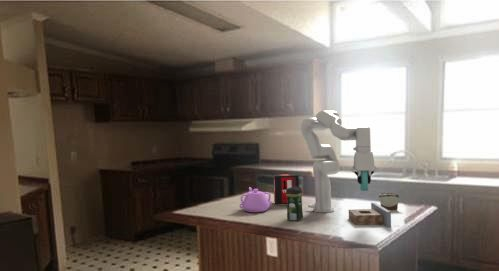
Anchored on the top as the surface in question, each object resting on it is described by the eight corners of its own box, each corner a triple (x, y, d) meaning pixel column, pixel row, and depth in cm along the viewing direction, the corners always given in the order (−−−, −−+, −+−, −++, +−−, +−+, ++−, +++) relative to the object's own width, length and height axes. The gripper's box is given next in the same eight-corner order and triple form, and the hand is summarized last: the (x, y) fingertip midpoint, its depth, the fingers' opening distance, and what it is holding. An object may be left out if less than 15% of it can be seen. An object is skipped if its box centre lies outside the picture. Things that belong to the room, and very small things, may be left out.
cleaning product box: (297, 201, 246) (296, 173, 246) (299, 204, 237) (298, 175, 237) (274, 202, 246) (273, 174, 246) (275, 205, 237) (274, 176, 237)
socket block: (355, 225, 179) (355, 215, 179) (348, 218, 193) (348, 209, 193) (382, 224, 179) (382, 214, 179) (373, 217, 193) (373, 209, 193)
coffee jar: (291, 216, 202) (291, 185, 202) (304, 218, 198) (303, 185, 198) (284, 220, 194) (284, 187, 194) (297, 222, 190) (297, 188, 190)
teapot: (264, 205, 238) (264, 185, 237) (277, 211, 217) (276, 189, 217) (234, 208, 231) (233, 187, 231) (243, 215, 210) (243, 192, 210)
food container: (396, 208, 217) (396, 192, 217) (399, 210, 211) (399, 194, 211) (376, 208, 218) (376, 192, 218) (379, 210, 212) (378, 194, 212)
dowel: (361, 190, 184) (361, 168, 184) (359, 189, 188) (358, 167, 188) (369, 190, 184) (368, 168, 184) (366, 189, 188) (366, 167, 188)
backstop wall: (387, 227, 174) (386, 211, 174) (371, 216, 198) (371, 202, 198) (391, 227, 174) (390, 211, 174) (375, 216, 198) (374, 202, 198)
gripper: (349, 150, 183) (350, 184, 183) (381, 149, 182) (382, 184, 182) (345, 149, 190) (346, 182, 190) (376, 148, 190) (377, 182, 190)
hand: (364, 183), depth 186 cm, fingers closed on dowel, 4 cm apart
